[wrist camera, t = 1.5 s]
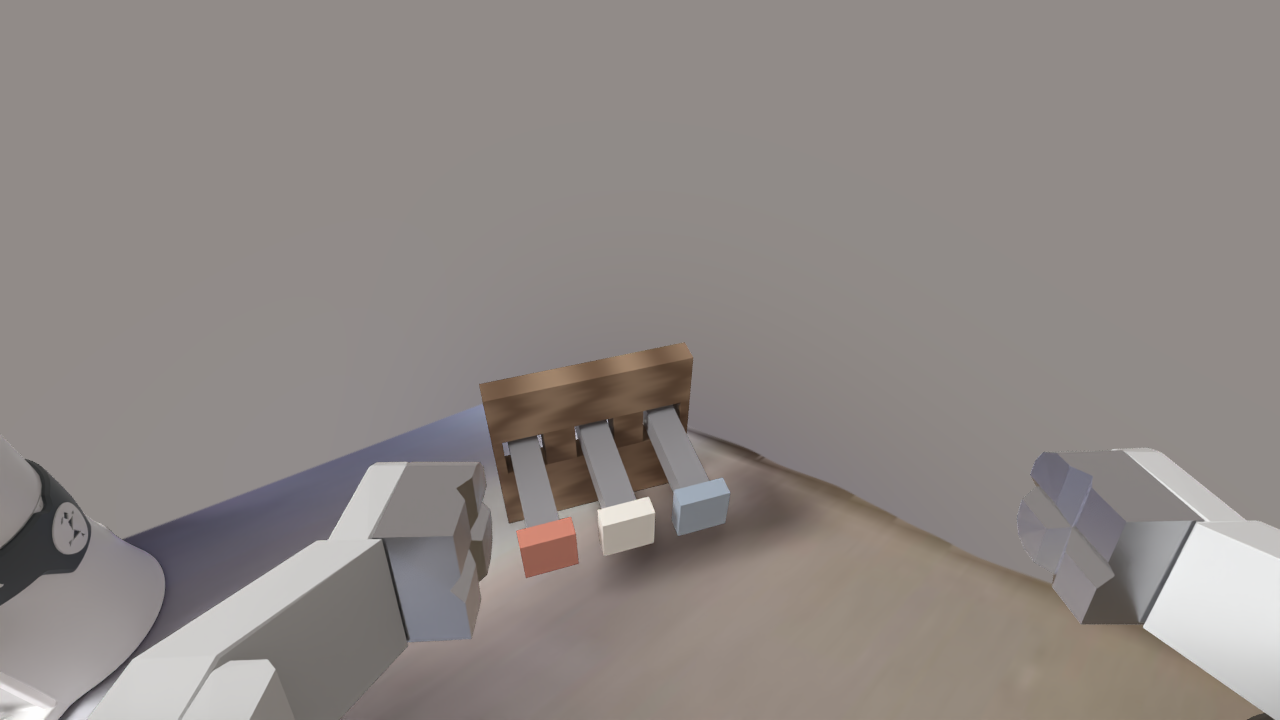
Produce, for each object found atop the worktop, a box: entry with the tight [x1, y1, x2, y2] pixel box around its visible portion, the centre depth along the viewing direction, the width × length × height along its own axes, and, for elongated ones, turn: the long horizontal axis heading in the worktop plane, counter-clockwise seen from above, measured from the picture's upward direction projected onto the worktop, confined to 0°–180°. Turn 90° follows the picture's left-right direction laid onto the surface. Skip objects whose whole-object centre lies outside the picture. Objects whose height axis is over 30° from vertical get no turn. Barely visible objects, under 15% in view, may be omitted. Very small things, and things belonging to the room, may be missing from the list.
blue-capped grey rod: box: [643, 405, 730, 536], centre depth 55 cm, size 4×12×4 cm, turn 18°
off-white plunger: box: [575, 420, 655, 556], centre depth 53 cm, size 4×12×4 cm, turn 18°
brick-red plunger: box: [508, 435, 579, 578], centre depth 52 cm, size 4×12×4 cm, turn 18°
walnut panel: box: [479, 343, 693, 523], centre depth 57 cm, size 17×2×16 cm, turn 108°
